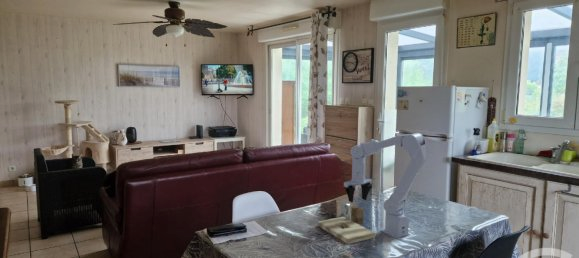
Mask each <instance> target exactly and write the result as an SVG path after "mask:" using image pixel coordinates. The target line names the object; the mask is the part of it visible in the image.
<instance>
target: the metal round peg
mask: <svg viewBox="0 0 579 258" xmlns="http://www.w3.org/2000/svg"><path fill="white" fill-rule="evenodd" d="M338 212H339V215H338V216H339V217H345V218H347V219H349V220H351V202H349V201H341V202H339V211H338ZM339 217H338V218H339Z"/></svg>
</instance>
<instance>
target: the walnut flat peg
mask: <svg viewBox="0 0 579 258" xmlns="http://www.w3.org/2000/svg"><path fill="white" fill-rule="evenodd" d="M350 220H351V221H353V222H355V223H357V224H359V225H361V226H362V225H363V224H364V208H362V207H360V206H357V205H356V206H350Z"/></svg>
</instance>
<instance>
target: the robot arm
mask: <svg viewBox="0 0 579 258" xmlns="http://www.w3.org/2000/svg"><path fill="white" fill-rule="evenodd" d="M393 146H398V147H403V149H404V150H405V151H406V152H407V153H408V155H409V156H410V161H409V163H408V165H407V166H406V168H405V170H404V172H403V174H402V176H401V178H400V180H399V182H398V184H397V185H396V187H395V189H394V191H393V192H392V193H391V194H390V195H389V198H388V199H386V200H384V202H383V209H384V211H385V214H384V215H385V218H384V219H385V221H384V223H385V224H384V228H381V229H380V231H381V232H382V233H384V234H386V235H388V236H391V237H393V238H395V239H398V238H402V237H406V236H410V233H409V223H410V222H409V218H408V217H407V216H406V215H405V214H404V210H403V209H404V208H405V206H406V202H407V198H408V193H409V191H410V189H411V188H412V186H413V184H414V183H415V180H416V178H417V176H418V175H419V174H420V172H421V169H422V168H423V165H424V164H425V162H426V160H427V151H426V148H427V147H426V146H427V141H426V139H425V136H424V135H423V134H422V133H420V132H413V133H407V134H400V135H396V136H393V137H390V138H388V139H384V140H381V141H379V140H377V139H374V138H372V139H370V140H369V141H367V142H360V144H357V145H354V146H351V148H350V156H351V159H352V162H351V163H352V164H351V166H352V167H351V180H348V181H344V182H343V188H344V190H345V192H346V194H347V198H348V203H354V194H355V191H356V188H355V186H360V187H361V200H363V201H367V198H368V195H369V192H370V190H371V189H372V187H373V185H372V183H373V179H372V178H366V157H367V156H368V157H369V156H371V155H376V154H378V153H381V151H382V149H385V148H389V147H393Z"/></svg>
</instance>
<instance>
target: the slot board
mask: <svg viewBox="0 0 579 258" xmlns="http://www.w3.org/2000/svg"><path fill="white" fill-rule="evenodd" d="M317 226H318V227H319V228H320V229H322V230H324V231H326V232H327V233H329V234H331V235H333V236H334V237H335V238H337V239H339V240H341V241H342V242H344V243H345V244H347V245H349V244H350V245H351V244H353V243H354V244H355V243H357V242H359V243H360V242H361V241H362V242H363V241H367V240H371V239H375V238H376V232H374V231H373V230H371V229H368V228H366V227H365V226H362V224H361V225H359V224H357V223H355V222H353V221H351V219H347V218H345V217H335V218H329V219H324V220H319V221H317Z"/></svg>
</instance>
